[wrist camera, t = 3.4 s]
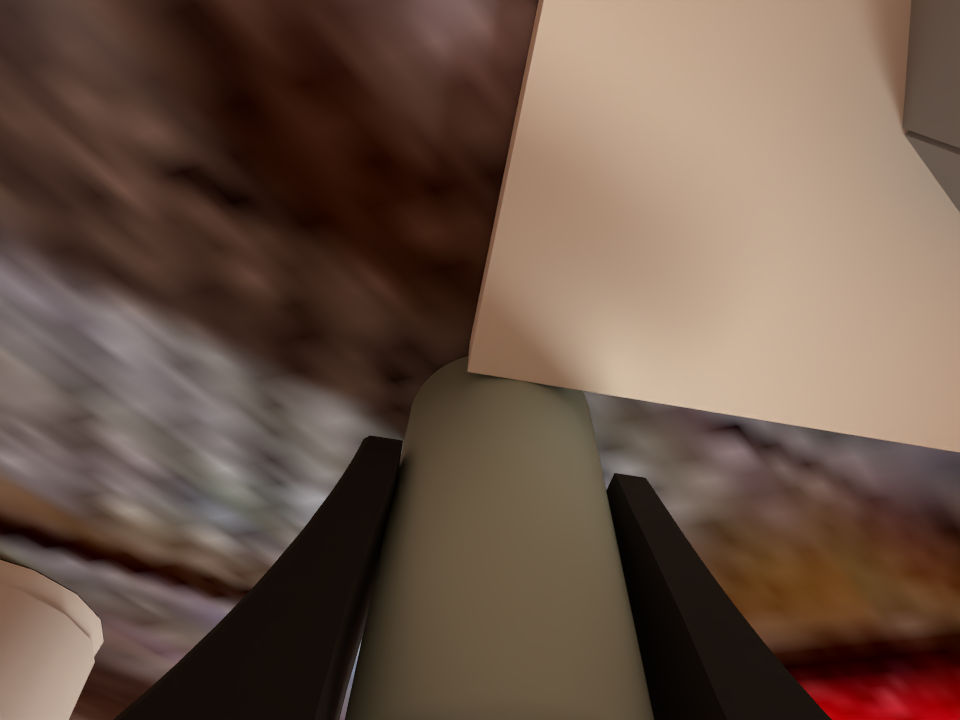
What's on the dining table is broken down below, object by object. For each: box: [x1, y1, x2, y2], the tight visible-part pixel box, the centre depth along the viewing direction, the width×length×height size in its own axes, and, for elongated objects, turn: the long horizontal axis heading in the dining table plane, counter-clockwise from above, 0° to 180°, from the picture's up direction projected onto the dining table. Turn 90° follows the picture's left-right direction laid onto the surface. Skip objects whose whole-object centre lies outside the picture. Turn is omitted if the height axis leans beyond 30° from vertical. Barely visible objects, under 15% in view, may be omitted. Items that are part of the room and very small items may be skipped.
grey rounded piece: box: [345, 355, 654, 720], centre depth 9 cm, size 4×4×6 cm
